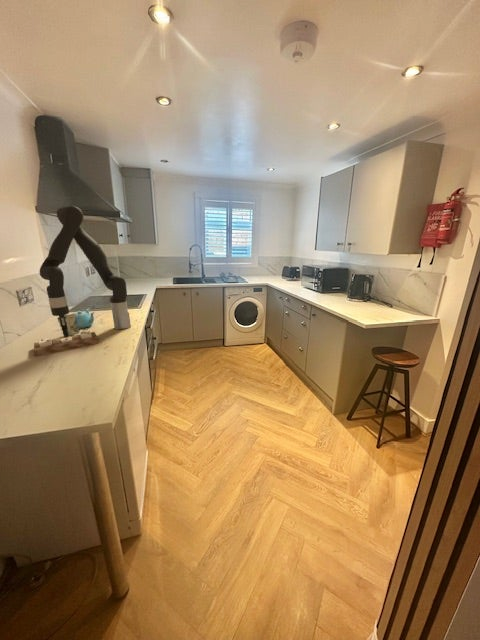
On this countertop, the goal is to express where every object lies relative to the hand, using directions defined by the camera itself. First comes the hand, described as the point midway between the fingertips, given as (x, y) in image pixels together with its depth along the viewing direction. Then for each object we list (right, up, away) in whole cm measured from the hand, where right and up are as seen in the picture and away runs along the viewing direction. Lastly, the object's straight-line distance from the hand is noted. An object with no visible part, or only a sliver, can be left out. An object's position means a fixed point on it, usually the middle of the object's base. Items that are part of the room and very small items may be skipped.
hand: (66, 336), depth 135 cm
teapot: (-11, +5, +33) cm, 35 cm away
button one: (0, -5, +1) cm, 5 cm away
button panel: (0, -5, +1) cm, 5 cm away
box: (-8, 0, +18) cm, 20 cm away
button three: (+7, -2, +6) cm, 9 cm away
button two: (-7, -5, -4) cm, 10 cm away
